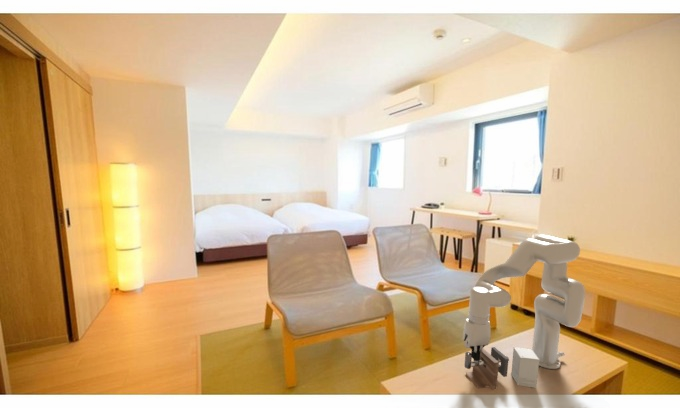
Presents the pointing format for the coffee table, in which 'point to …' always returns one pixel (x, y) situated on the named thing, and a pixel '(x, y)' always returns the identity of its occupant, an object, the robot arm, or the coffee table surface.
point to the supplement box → (525, 367)
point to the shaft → (475, 363)
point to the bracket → (485, 372)
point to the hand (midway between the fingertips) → (475, 358)
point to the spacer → (504, 361)
